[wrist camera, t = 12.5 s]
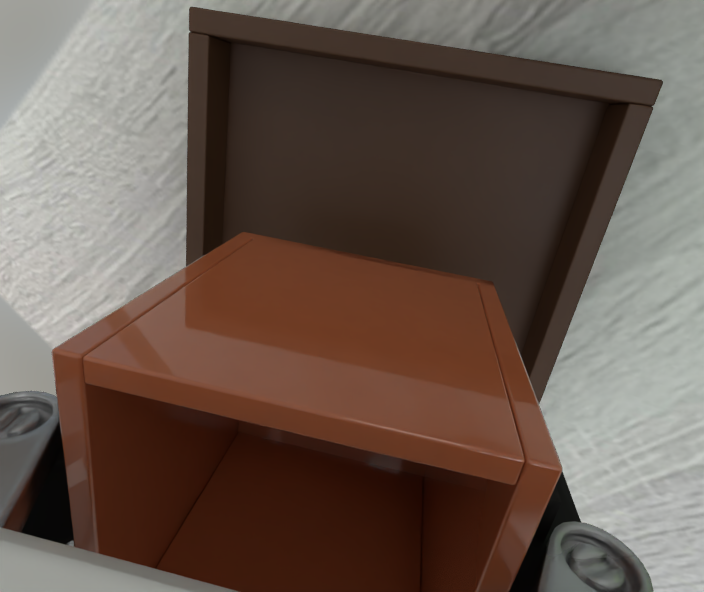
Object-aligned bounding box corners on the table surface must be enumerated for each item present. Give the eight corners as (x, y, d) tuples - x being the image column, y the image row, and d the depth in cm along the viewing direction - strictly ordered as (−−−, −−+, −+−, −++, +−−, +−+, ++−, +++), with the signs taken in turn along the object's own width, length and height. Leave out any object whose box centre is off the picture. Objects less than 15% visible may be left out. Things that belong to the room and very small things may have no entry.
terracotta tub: (242, 230, 11) (49, 349, 5) (493, 281, 10) (565, 469, 5) (229, 430, 13) (85, 655, 8) (434, 480, 13) (437, 759, 7)
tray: (221, 20, 14) (188, 6, 12) (630, 84, 13) (665, 79, 11) (207, 417, 20) (183, 449, 18) (486, 484, 19) (492, 526, 17)
